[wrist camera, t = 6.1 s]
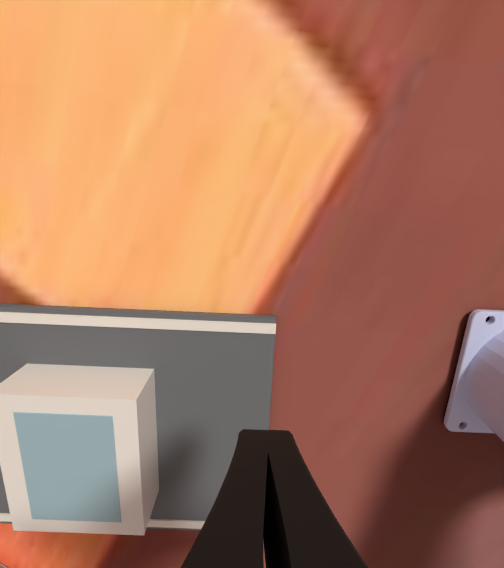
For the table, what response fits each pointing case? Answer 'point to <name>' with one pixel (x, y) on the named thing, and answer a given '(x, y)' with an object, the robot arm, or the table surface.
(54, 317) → the mat
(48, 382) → the white rectangular block
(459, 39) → the table surface
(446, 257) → the table surface
